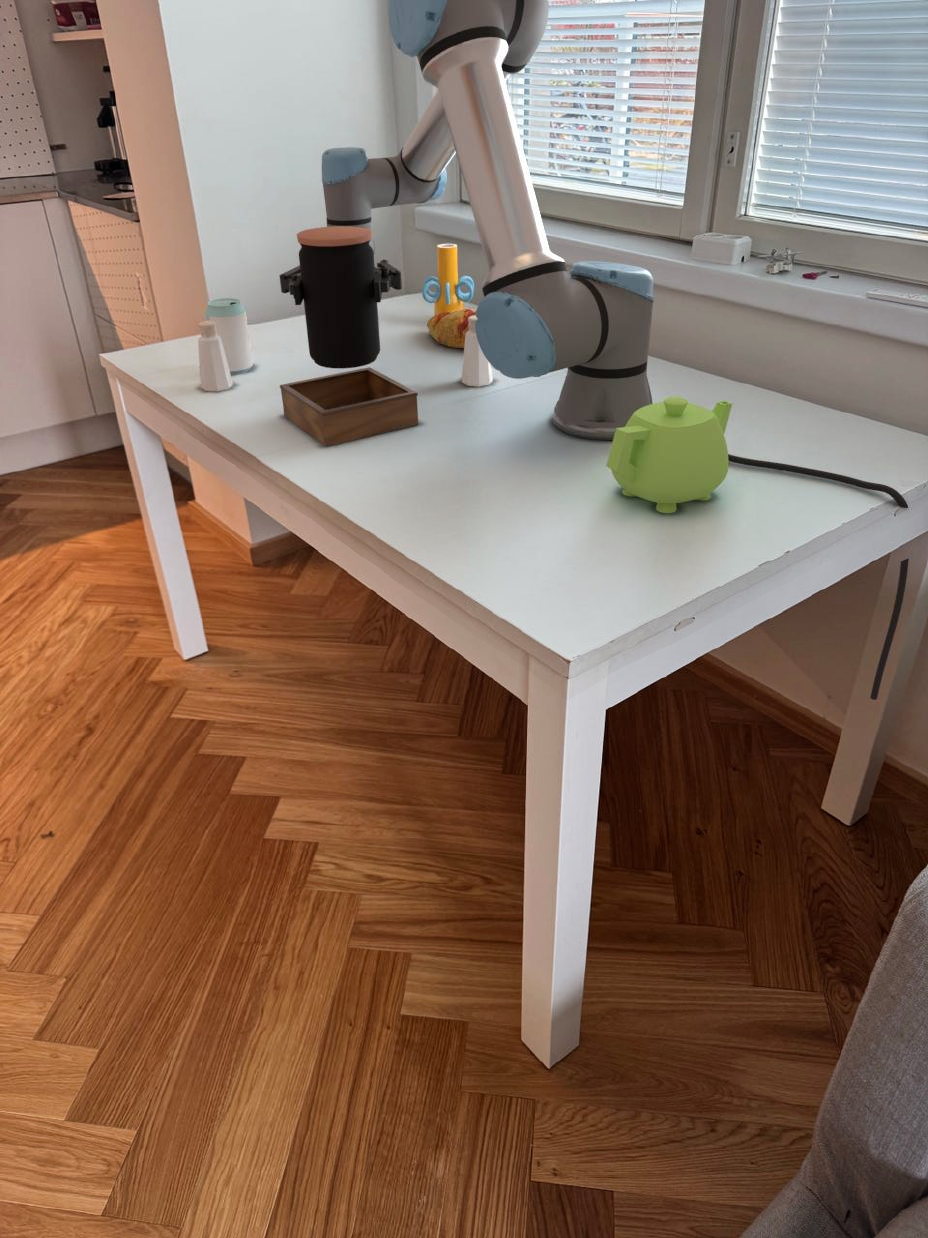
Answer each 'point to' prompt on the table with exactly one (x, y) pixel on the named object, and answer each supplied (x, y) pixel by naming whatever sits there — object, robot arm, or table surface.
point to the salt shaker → (212, 359)
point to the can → (232, 332)
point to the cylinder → (447, 282)
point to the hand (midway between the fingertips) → (337, 293)
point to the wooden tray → (342, 424)
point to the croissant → (451, 327)
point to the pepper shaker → (475, 360)
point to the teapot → (671, 452)
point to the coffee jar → (339, 296)
